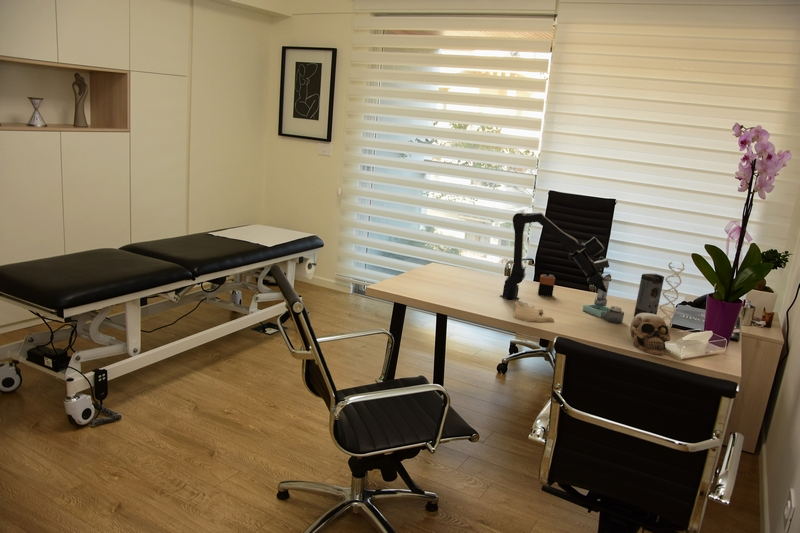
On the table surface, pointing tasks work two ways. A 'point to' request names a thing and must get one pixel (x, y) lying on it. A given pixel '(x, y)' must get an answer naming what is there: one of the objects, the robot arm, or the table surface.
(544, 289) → the battery
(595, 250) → the robot arm
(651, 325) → the tan skull model
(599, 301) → the grey cylindrical piece
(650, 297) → the electronic device
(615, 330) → the table surface
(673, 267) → the dna model
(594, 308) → the tray
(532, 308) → the hand model
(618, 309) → the calibration weight
